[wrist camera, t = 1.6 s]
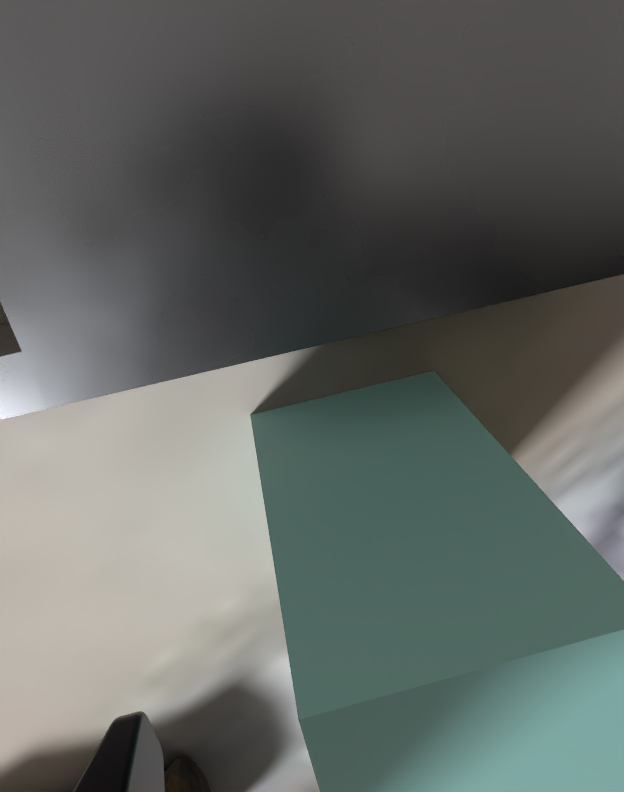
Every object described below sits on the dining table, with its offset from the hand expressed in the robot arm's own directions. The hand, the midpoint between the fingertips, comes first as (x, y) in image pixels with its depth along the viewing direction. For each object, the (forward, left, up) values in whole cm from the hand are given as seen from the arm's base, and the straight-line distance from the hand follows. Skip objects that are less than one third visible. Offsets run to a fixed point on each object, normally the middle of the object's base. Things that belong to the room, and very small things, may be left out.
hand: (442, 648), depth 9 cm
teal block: (0, 0, -5) cm, 5 cm away
